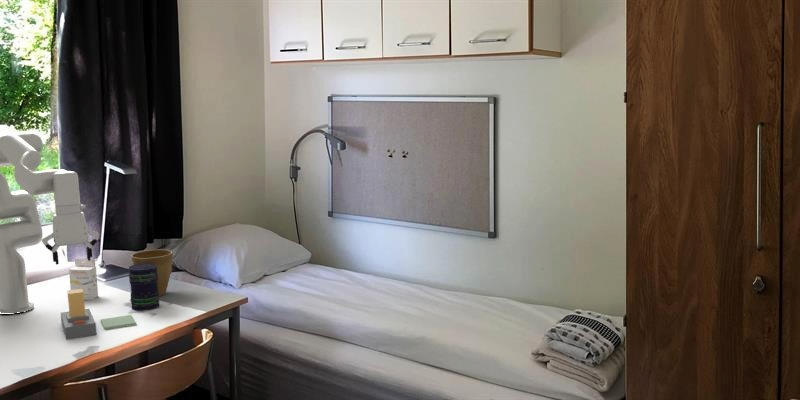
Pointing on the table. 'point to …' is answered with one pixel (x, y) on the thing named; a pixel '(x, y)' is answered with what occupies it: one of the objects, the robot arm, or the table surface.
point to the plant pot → (163, 265)
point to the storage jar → (144, 286)
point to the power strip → (78, 326)
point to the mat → (118, 322)
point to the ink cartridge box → (84, 278)
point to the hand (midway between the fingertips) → (73, 261)
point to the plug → (76, 305)
